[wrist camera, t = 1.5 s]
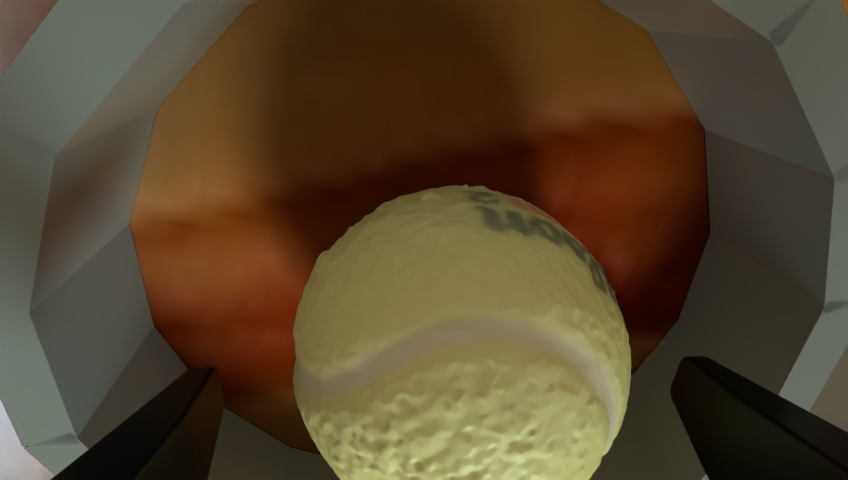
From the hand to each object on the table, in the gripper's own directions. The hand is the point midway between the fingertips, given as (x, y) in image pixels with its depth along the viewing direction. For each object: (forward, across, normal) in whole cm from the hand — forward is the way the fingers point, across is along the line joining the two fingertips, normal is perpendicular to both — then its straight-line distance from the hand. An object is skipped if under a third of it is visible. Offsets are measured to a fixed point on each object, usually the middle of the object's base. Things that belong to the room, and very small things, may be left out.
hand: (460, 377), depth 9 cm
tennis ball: (+4, 0, 0) cm, 4 cm away
